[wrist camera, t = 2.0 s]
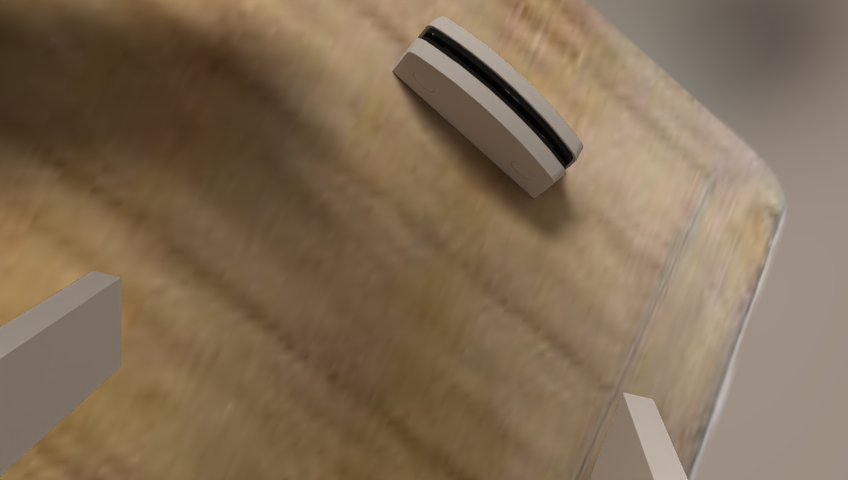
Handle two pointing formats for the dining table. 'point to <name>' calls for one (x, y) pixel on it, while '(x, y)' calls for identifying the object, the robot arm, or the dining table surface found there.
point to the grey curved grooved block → (490, 105)
